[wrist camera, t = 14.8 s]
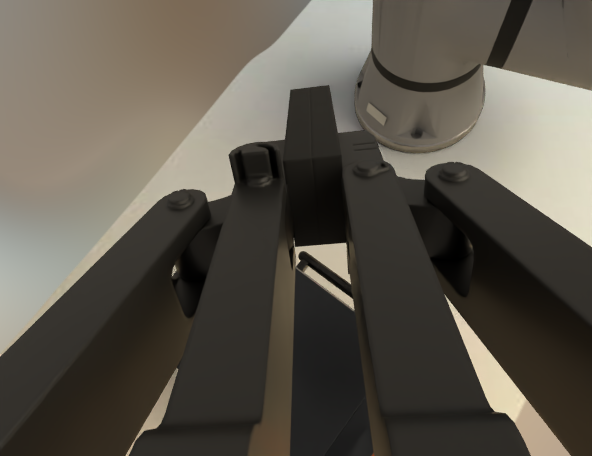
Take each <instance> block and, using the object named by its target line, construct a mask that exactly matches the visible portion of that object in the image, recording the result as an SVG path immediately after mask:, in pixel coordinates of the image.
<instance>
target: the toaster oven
mask: <svg viewBox="0 0 592 456" xmlns="http://www.w3.org/2000/svg"><path fill="white" fill-rule="evenodd" d="M298 257H299V259H300V260H301V261H300V262H299V264H298V265H297V266H295V298H294V332H293V366H292V400H291V434H290V456H372V455H373V453H374V452H373V445H372V437H371V430H370V422H369V415H368V407H367V399H366V392H365V384H364V377H363V369H362V362H361V354H360V347H359V339H358V332H357V324H356V317H355V310H353V309H352V308H351V307H349V306H348V305H347V304H345V303H344V302H343V301H341V300H340V299H339V298H337V297H336V296H335V295H333V294H332V293H331V292H329V291H328V290H326V289H325V288H324V287H322V286H321V285H320V284H318V283H317V282H316V281H314V280H313V279H312V278H310V277H309V276H308V275H306V274H305V273H304V271H305V270H306V268H307V267H308V266H309V267H310V268H312V269H313V270H314V271H316V272H317V273H318V274H320V275H321V276H323V277H324V278H325V279H327V280H328V281H329V282H331V283H332V284H333V285H335V286H336V287H337V288H339V289H340V290H342V291H343V292H344V293H346V294H347V295H348V296H350V297H351V298H352V299H353V294H352V286H351V284H350V283H348V282H347V281H346V280H344V279H343V278H341V277H340V276H339V275H337V274H336V273H334V272H333V271H332V270H330V269H329V268H328V267H326V266H325V265H323V264H322V263H321V262H319V261H318V260H316V259H315V258H314V257H312V256H311V255H310V254H308V253H307V252H305V251H302V252H300V253H299V256H298ZM181 360H182V359H181ZM180 363H181V361H180V362H179V364H178V366H177V368H178V369H179V366H180Z"/></svg>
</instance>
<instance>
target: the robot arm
mask: <svg viewBox="0 0 592 456" xmlns="http://www.w3.org/2000/svg"><path fill="white" fill-rule="evenodd" d="M483 65H487V66H492V67H497V68H500V69H504V70H509V71H513V72H517V73H521V74H525V75H529V76H533V77H538V78H542V79H546V80H550V81H554V82H558V83H563V84H567V85H571V86H575V87H579V88H583V89H587V90H592V0H373V16H372V48H371V51H370V53H369V56H368V58H367V60H366V62H365V64H364V66H363V68H362V70H361V72H360V75H359V77H358V80H357V83H356V87H355V111H356V115H357V118H358V120H359V122H360V124H361V126H362V127H363V128H364V130H363V131H354V132H344V133H338V132H337V126H336V121H335V115H334V109H333V104H332V98H331V92H330V87H329V85H327V86H319V87H310V88H301V89H293V90H291V91H290V100H289V109H288V118H287V127H286V136H285V140H279V141H269V142H255V143H250V144H245V145H242V146H240V147H237V148H236V149H234V150H232V151H231V152H230V154H229V159H230V164H231V168H232V172H233V177H234V181H235V185H234V188H233V192H232V195H230V196H228V197H225V198H222V199H218V200H214V201H211V202H208V201H207V198H206V195H205V193H204V192H202V191H200V190H194V189H190V190H186V189H183V190H179V191H174V192H172V193H171V194H169V195H167V196H165V197H163V198H162V199H161V200H159V201H158V202H157V203H156V204H155V205H154V206H153V207H152V208H151V209H150V210H149V211H148V212H147V213H146V214H145V215H144V216H143V217H142V218H141V219H140V220H139V221H138V222H137V223H136V224H135V225H134V226H133V227H132V228H131V229H130V230H129V231H128V232H127V233H126V234H124V235H123V236H122V237H121V238H120V239H119V240H118V241H117V242H116V243H115V244H114V245H113V246H112V247H111V248H110V249H109V250H108V251H107V252H106V253H105V254H104V255H103V256H102V257H101V258H100V259H99V260H98V261H97V262H96V263H95V264H94V265H93V266H92V267H91V268H90V269H89V270H88V271H87V272H86V273H85V274H84V275H83V276H82V277H81V278H80V279H79V280H78V281H77V282H76V283H75V284H74V285H73V286H72V287H71V288H70V289H69V290H68V291H67V292H66V293H65V294H64V295H63V296H62V297H61V298H59V299H58V300H57V301H56V302H55V303H54V304H53V305H52V306H51V307H50V308H49V309H48V310H47V311H46V312H45V313H44V314H43V315H42V316H41V317H40V318H39V319H38V320H37V321H36V322H35V323H34V324H33V325H32V326H31V327H30V328H29V329H28V330H27V331H26V332H25V333H24V334H23V335H22V336H21V337H20V338H19V339H18V340H17V341H16V342H15V343H14V344H13V345H12V346H11V347H10V348H9V349H8V350H7V351H6V352H5V353H4V354H3V355H2V356H1V357H0V456H125V455H126V454H127V452H128V450H129V448H130V447H131V445H132V443H133V442H134V440H135V438H136V436H137V435H138V433H139V431H140V429H141V428H142V426H143V424H144V423H145V421H146V419H147V417H148V416H149V414H150V412H151V411H152V409H153V407H154V405H155V404H156V402H157V400H158V399H159V397H160V395H161V393H162V392H163V390H164V388H165V386H166V385H167V383H168V381H169V380H170V378H171V376H172V374H173V373H174V371H175V369H176V368H177V366H178V364H179V362H180V361H181V363H180V366H179V370H178V373H177V376H176V379H175V383H174V386H173V389H172V393H171V396H170V399H169V403H168V406H167V409H166V412H165V415H164V418H163V420H162V423H161V424H160V425H159V426H158V428H156V429H151V430H146V431H144V432H143V433H142V434H141V435H140V436H139V438H138V439H137V440H136V441H135V444H134V446H133V448H132V450H131V452H130V454H129V456H290V434H291V400H292V366H293V332H294V298H295V264H296V256H295V249H294V241H295V247H299V246H311V245H323V244H335V243H346V244H347V261H348V274H350V279H351V286H352V294H353V302H354V309H355V317H356V324H357V332H358V339H359V347H360V354H361V362H362V369H363V377H364V384H365V392H366V399H367V407H368V415H369V422H370V430H371V437H372V445H373V452H374V456H531V455H530V453H529V451H528V448H527V447H526V444H525V442H524V440H523V438H522V436H521V434H520V432H519V430H518V429H517V427H516V425H515V423H514V422H513V421H512V420H511V419H510V418H509V416H508V415H507V414H506V413H499V412H494V410H493V409H492V408H491V407H490V405H489V403H488V401H487V399H486V397H485V394H484V392H483V389H482V387H481V384H480V382H479V379H478V377H477V374H476V372H475V369H474V367H473V364H472V362H471V359H470V357H469V354H468V352H467V350H466V347H465V345H464V342H463V340H462V337H461V335H460V332H459V330H458V327H457V325H456V322H455V320H454V317H453V315H452V312H451V310H450V307H449V305H448V302H447V300H446V297H447V298H448V299H449V301H450V302H451V303H452V304H453V306H454V307H455V308H456V309H457V311H458V312H459V313H460V315H461V316H462V317H463V318H464V320H465V321H466V322H467V324H468V325H469V326H470V327H471V329H472V330H473V331H474V332H475V334H476V335H477V336H478V338H479V339H480V340H481V341H482V343H483V344H484V345H485V346H486V348H487V349H488V350H489V352H490V353H491V354H492V355H493V357H494V358H495V359H496V361H497V362H498V363H499V364H500V366H501V367H502V368H503V369H504V371H505V372H506V373H507V375H508V376H509V377H510V378H511V380H512V381H513V382H514V383H515V385H516V386H517V387H518V389H519V390H520V391H521V392H522V394H523V395H524V396H525V398H526V399H527V400H528V401H529V403H530V404H531V405H532V406H533V408H534V409H535V410H536V412H537V413H538V414H539V415H540V417H541V418H542V419H543V420H544V422H545V423H546V424H547V425H548V427H549V428H550V429H551V431H552V432H553V433H554V435H555V436H556V437H557V438H558V440H559V441H560V442H561V443H562V445H563V446H564V447H565V449H566V450H567V451H568V452H569V454H570V455H571V456H592V247H591V246H589V245H588V244H586V243H585V242H583V241H582V240H581V239H579V238H578V237H576V236H575V235H573V234H572V233H570V232H569V231H568V230H566V229H565V228H563V227H562V226H560V225H559V224H557V223H556V222H554V221H553V220H552V219H550V218H549V217H547V216H546V215H544V214H543V213H541V212H540V211H539V210H537V209H536V208H534V207H533V206H531V205H530V204H528V203H527V202H526V201H524V200H523V199H521V198H520V197H518V196H517V195H515V194H514V193H513V192H511V191H510V190H508V189H507V188H505V187H504V186H502V185H501V184H499V183H498V182H497V181H495V180H494V179H492V178H491V177H489V176H488V175H486V174H485V173H484V172H482V171H481V170H479V169H477V168H475V167H473V166H471V165H466V164H463V163H460V162H455V163H454V162H448V163H444V164H438V165H435V166H432V167H431V168H429V169H428V170H427V171H426V174H425V180H414V179H405V178H401V177H398V176H397V175H396V173H395V170H394V168H393V167H392V166H391V165H390V164H389V163H387V162H385V161H384V160H383V158H382V155H381V152H380V150H379V147H378V144H377V142H376V141H378V142H379V143H381V144H383V145H385V146H387V147H389V148H392V149H395V150H398V151H403V152H410V153H426V152H433V151H437V150H441V149H444V148H446V147H449V146H451V145H453V144H455V143H457V142H458V141H460V140H461V139H462V138H463V137H465V136H466V135H467V134H468V133H469V132H470V131H471V129H472V128H473V127H474V125H475V124H476V122H477V120H478V118H479V115H480V113H481V111H482V109H483V105H484V101H485V81H484V77H483ZM174 265H175V267H176V270H177V271H176V272H175V274H174V275H173V276H172V269H173V267H174ZM171 276H172V277H171ZM444 294H445V295H446V297H445V295H444ZM181 359H182V360H181Z"/></svg>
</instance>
